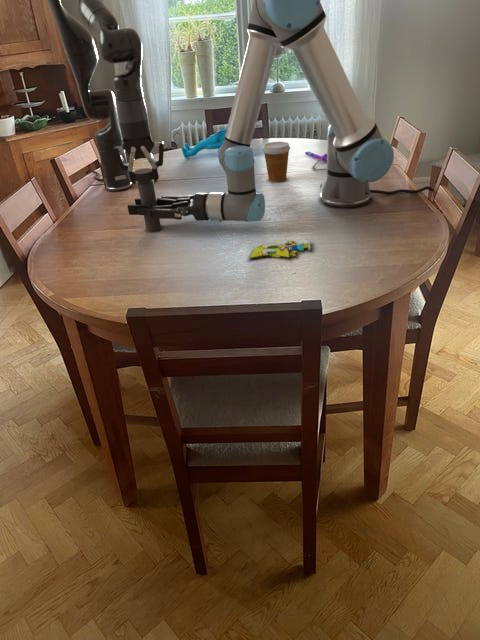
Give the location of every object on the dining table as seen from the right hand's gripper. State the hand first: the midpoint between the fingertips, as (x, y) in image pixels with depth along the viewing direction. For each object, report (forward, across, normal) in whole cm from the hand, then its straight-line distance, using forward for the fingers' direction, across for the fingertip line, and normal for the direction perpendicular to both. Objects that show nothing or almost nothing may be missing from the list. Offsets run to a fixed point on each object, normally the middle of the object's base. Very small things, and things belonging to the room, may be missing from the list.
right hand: (132, 206), depth 139 cm
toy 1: (-3, +80, -7) cm, 81 cm away
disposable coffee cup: (-35, +46, -7) cm, 58 cm away
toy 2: (-45, -13, -7) cm, 48 cm away
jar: (-5, 0, -7) cm, 9 cm away
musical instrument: (-49, +66, -7) cm, 83 cm away
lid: (-5, 0, +10) cm, 11 cm away
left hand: (-5, 0, +7) cm, 9 cm away
